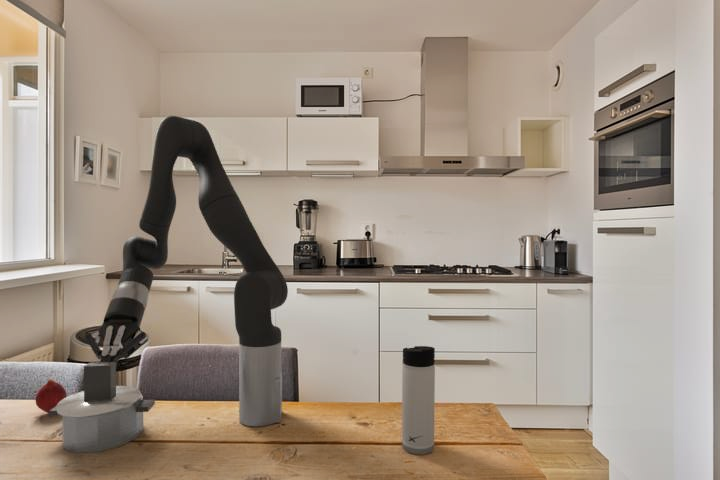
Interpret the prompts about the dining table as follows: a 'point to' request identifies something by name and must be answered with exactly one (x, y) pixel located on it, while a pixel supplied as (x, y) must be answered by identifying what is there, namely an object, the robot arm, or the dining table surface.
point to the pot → (103, 428)
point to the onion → (50, 395)
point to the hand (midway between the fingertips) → (104, 375)
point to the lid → (98, 393)
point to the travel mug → (418, 399)
